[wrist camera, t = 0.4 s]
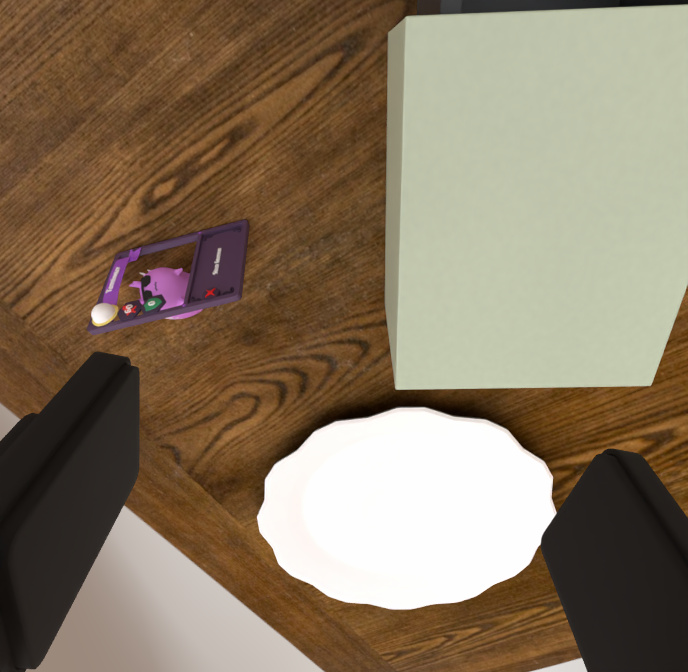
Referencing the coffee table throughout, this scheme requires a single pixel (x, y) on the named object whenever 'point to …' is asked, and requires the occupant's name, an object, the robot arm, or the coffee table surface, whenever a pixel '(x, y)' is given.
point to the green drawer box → (536, 196)
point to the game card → (177, 280)
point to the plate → (407, 508)
